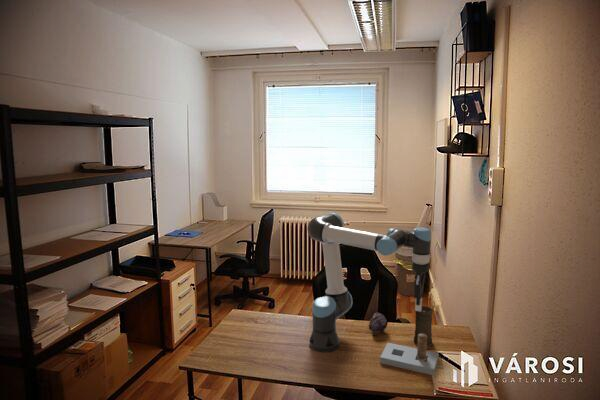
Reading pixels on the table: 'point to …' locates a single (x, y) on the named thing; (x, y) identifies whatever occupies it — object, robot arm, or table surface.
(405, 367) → the board
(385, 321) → the rock
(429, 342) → the container
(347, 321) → the table surface
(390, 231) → the robot arm
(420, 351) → the walnut peg
